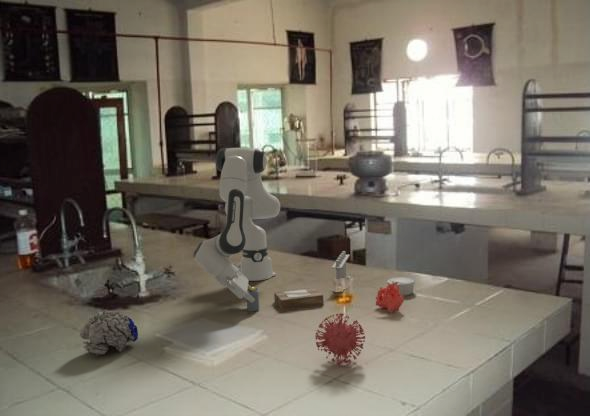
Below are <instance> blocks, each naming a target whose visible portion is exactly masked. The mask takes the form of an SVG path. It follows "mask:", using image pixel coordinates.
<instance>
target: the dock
mask: <svg viewBox="0 0 590 416" xmlns="http://www.w3.org/2000/svg"><path fill="white" fill-rule="evenodd" d="M273 293H274V294H273V296H274V303H275V304H276V306H277V307H278V308H279V309H280V310H282V311H288V310H295V309H302V308H309V307H317V306H324V304H325V303H324V294H322V293H321V292H320V291H319V290H317V288H315V287H310V288H309V287H308V288H301V289H293V290H283V291H277V292H276V291H275V292H273Z"/></svg>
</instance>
